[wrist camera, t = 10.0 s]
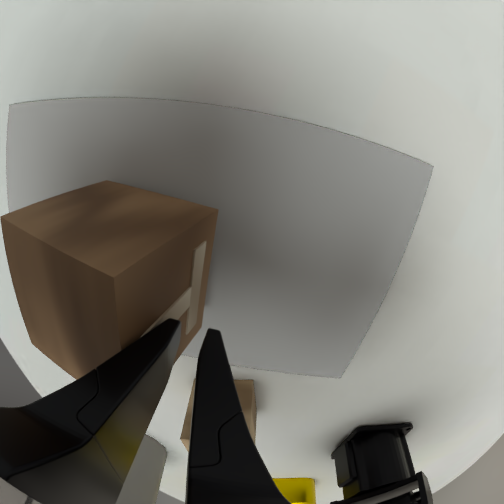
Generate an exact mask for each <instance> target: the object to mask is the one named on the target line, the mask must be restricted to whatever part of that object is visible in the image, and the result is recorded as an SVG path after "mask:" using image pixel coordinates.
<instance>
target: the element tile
mask: <svg viewBox="0 0 504 504" xmlns="http://www.w3.org/2000/svg"><path fill="white" fill-rule="evenodd" d="M272 479H273V481H274V483H275V484H276V486H277V488H278V489H279V491H280V492H281V493H282V495H283V496H284V497H285V498H286V499H287V500H288V501H289V502H290V503H291V504H316V496H315V481H314V479H311V478H272Z"/></svg>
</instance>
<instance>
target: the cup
mask: <svg viewBox="0 0 504 504" xmlns="http://www.w3.org/2000/svg"><path fill="white" fill-rule="evenodd" d="M166 457H167V452H166V449H165V447H164V446H163V445H161V444H160V443H159V442H158V441H156V440H155V439H153V438H151V437H150V436H148V435H146V434H145V435H144V437H143V440H142V442H141V444H140V447H139V449H138V451H137V454H136V456H135V458H134V461H133V463H132V465H131V468H130V470H129V473H128V475H127V477H126V480H125V482H124V483H123V487H122V490H121V492H120V494H119V497H118V499H117V502H116V504H156V500H157V495H158V491H159V487H160V482H161V478H162V474H163V470H164V466H165V461H166Z"/></svg>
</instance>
